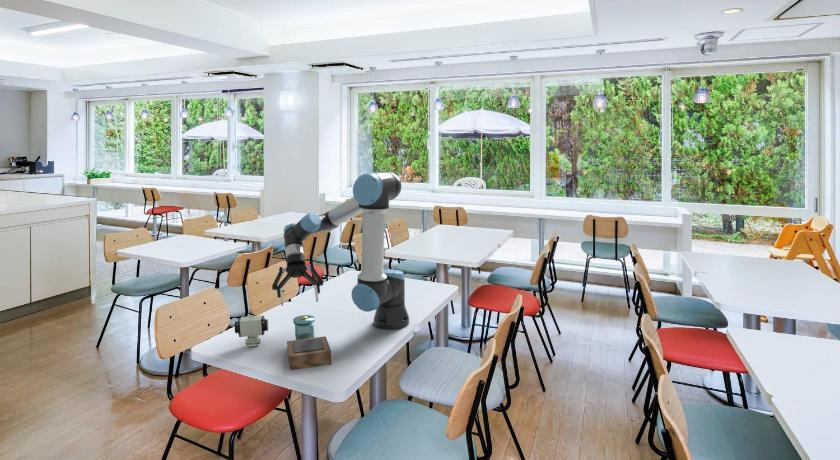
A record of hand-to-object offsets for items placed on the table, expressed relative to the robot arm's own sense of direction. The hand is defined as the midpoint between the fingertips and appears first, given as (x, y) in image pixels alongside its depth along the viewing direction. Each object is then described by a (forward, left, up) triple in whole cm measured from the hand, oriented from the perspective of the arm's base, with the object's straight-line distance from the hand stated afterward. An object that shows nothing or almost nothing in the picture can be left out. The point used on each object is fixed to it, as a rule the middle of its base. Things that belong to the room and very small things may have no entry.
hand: (299, 302), depth 197 cm
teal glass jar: (-1, +9, -14) cm, 16 cm away
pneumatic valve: (+18, +4, -14) cm, 23 cm away
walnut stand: (-1, +24, -14) cm, 28 cm away
